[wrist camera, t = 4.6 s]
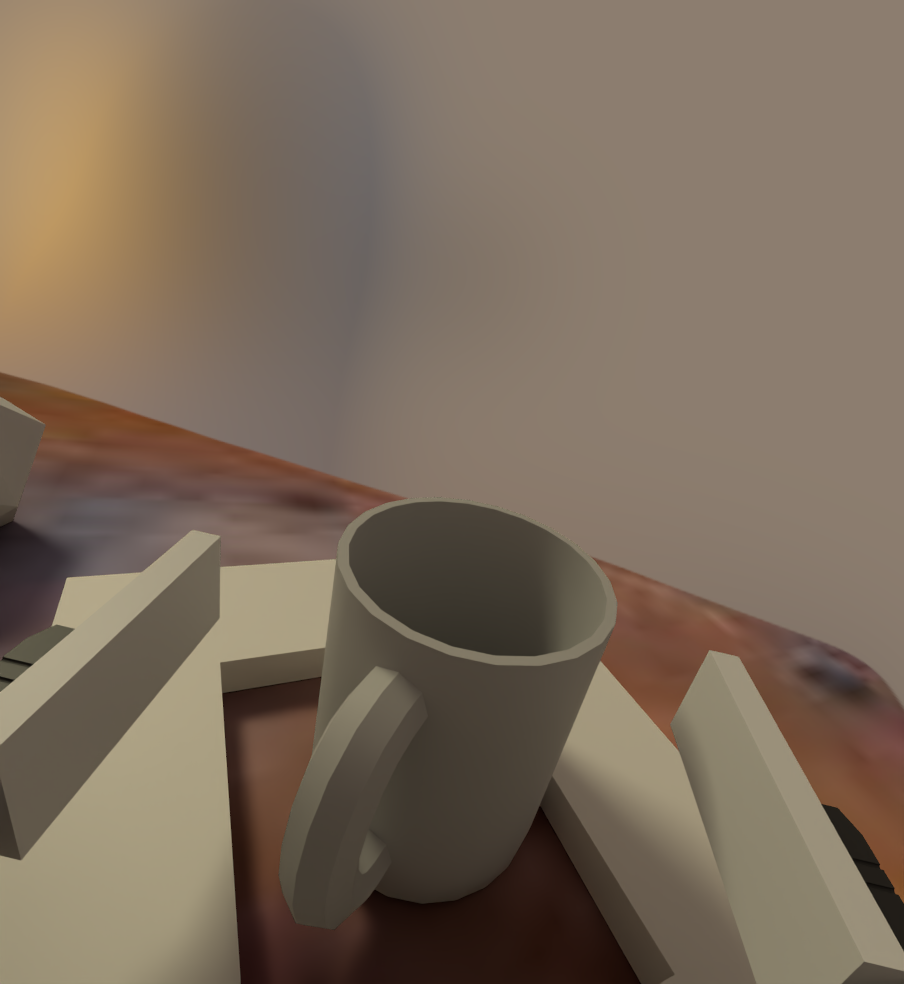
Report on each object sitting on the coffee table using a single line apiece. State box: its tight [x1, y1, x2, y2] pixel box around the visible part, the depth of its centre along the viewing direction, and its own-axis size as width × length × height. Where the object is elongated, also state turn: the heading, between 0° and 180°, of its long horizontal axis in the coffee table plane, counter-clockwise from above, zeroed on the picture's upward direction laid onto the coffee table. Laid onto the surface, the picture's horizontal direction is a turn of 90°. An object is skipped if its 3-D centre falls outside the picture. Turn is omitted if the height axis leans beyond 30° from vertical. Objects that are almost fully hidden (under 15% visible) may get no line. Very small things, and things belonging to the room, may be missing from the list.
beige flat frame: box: [0, 559, 756, 984], centre depth 16 cm, size 24×20×2 cm
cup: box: [279, 497, 617, 930], centre depth 14 cm, size 7×10×9 cm
